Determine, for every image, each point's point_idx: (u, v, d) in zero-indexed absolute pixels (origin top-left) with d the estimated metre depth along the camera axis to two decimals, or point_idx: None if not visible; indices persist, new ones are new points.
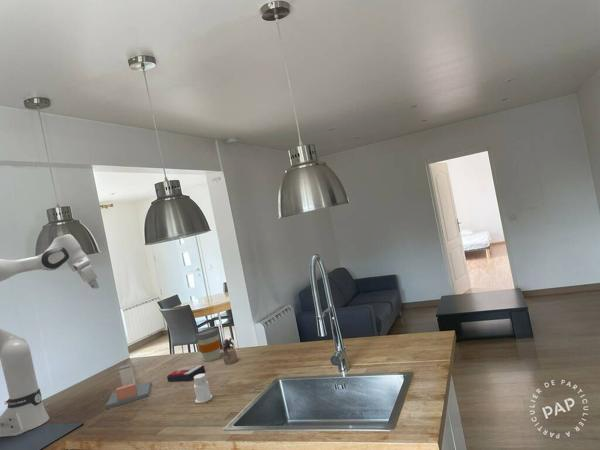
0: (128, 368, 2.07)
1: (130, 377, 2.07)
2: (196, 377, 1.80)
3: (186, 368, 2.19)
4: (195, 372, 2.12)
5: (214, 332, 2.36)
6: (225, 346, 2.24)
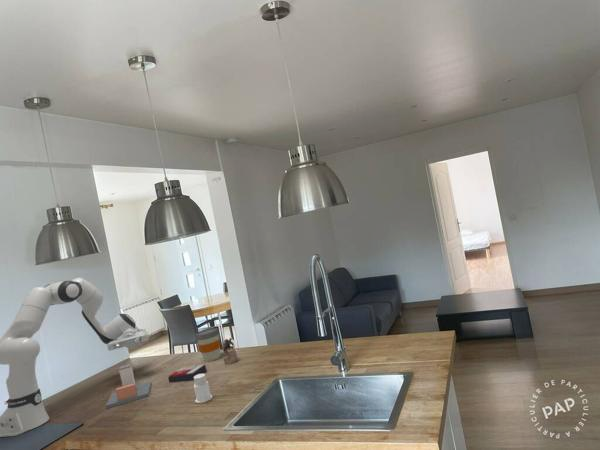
0: (128, 368, 2.07)
1: (130, 377, 2.07)
2: (196, 377, 1.80)
3: (187, 368, 2.18)
4: (198, 371, 2.12)
5: (214, 332, 2.36)
6: (225, 346, 2.24)
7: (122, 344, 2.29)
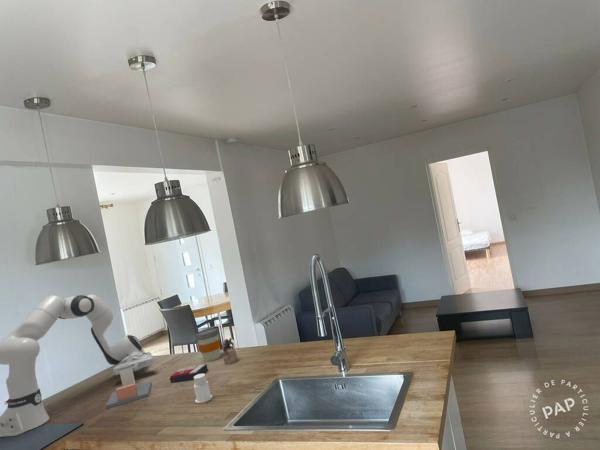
0: (128, 368, 2.07)
1: (130, 377, 2.07)
2: (196, 377, 1.80)
3: (188, 368, 2.18)
4: (200, 371, 2.13)
5: (214, 332, 2.36)
6: (225, 346, 2.24)
7: None
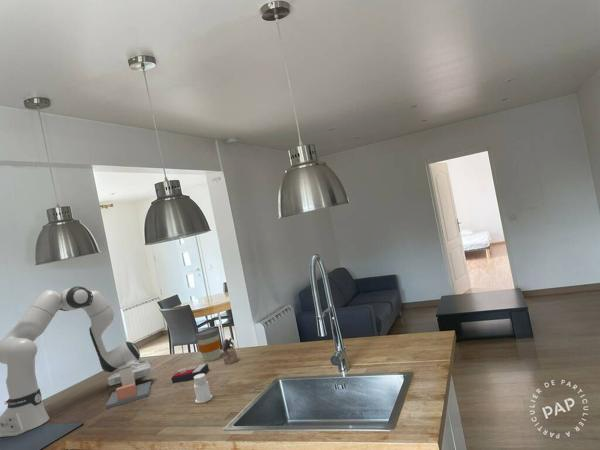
0: (128, 368, 2.07)
1: (130, 377, 2.07)
2: (196, 377, 1.80)
3: (189, 368, 2.18)
4: (203, 370, 2.13)
5: (214, 332, 2.36)
6: (225, 346, 2.24)
7: None
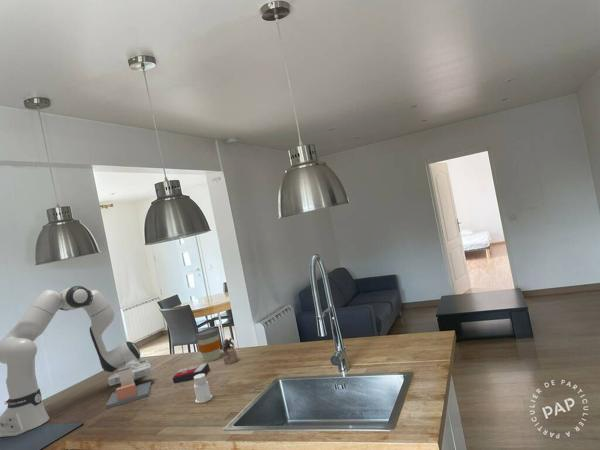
0: (127, 370, 2.05)
1: (129, 379, 2.05)
2: (196, 377, 1.80)
3: (189, 368, 2.18)
4: (204, 369, 2.13)
5: (214, 332, 2.36)
6: (225, 346, 2.24)
7: None
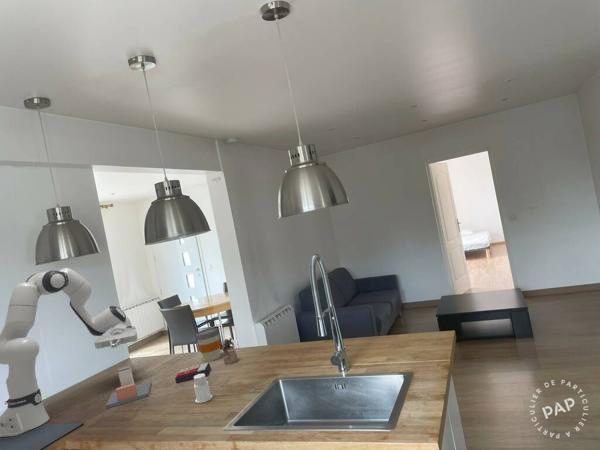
0: (127, 370, 2.05)
1: (129, 379, 2.05)
2: (196, 377, 1.80)
3: (191, 368, 2.17)
4: (207, 368, 2.14)
5: (214, 332, 2.36)
6: (225, 346, 2.24)
7: (110, 343, 2.24)
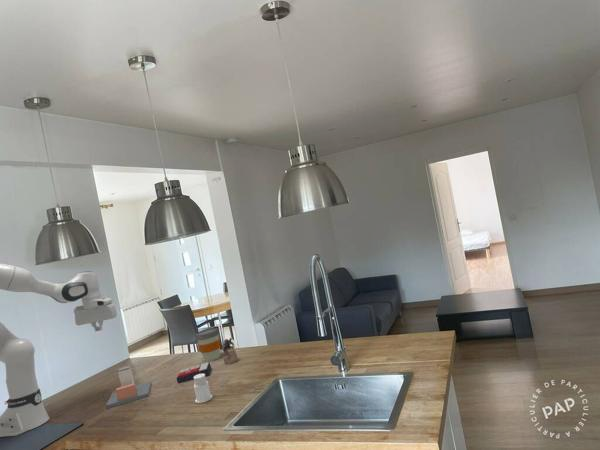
0: (127, 370, 2.05)
1: (129, 379, 2.05)
2: (196, 377, 1.80)
3: (192, 368, 2.17)
4: (208, 368, 2.15)
5: (214, 332, 2.36)
6: (225, 346, 2.24)
7: None
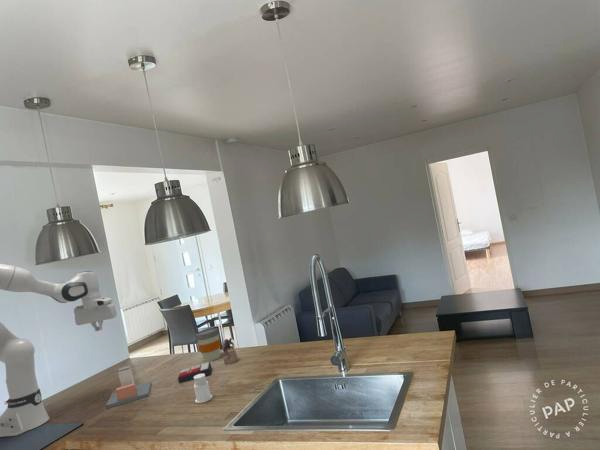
0: (127, 370, 2.05)
1: (129, 379, 2.05)
2: (196, 377, 1.80)
3: (192, 368, 2.17)
4: (209, 367, 2.15)
5: (214, 332, 2.36)
6: (225, 346, 2.24)
7: None
